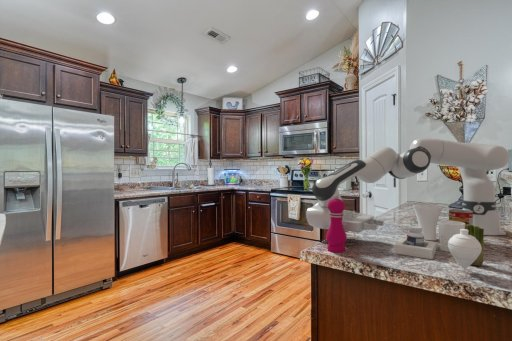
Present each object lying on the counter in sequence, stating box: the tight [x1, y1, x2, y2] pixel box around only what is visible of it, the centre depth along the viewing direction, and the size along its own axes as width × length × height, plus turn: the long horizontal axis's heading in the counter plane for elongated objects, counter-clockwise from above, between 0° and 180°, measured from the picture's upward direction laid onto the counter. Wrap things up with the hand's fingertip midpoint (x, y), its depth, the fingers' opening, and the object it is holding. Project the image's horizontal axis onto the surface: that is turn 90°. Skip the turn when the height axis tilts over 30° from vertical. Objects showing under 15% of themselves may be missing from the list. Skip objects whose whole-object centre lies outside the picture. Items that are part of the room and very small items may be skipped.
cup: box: [412, 203, 443, 241], centre depth 118 cm, size 10×10×14 cm
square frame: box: [393, 237, 437, 260], centre depth 99 cm, size 11×11×3 cm
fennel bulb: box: [466, 225, 485, 266], centre depth 87 cm, size 6×5×12 cm
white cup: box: [437, 219, 465, 253], centre depth 101 cm, size 8×8×10 cm
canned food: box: [448, 208, 473, 229], centre depth 115 cm, size 8×8×12 cm
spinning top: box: [448, 229, 482, 273], centre depth 80 cm, size 8×8×12 cm
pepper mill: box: [325, 194, 348, 254], centre depth 102 cm, size 7×7×20 cm
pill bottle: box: [406, 225, 425, 247], centre depth 99 cm, size 5×5×9 cm
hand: (380, 225), depth 106 cm, fingers open, 8 cm apart
